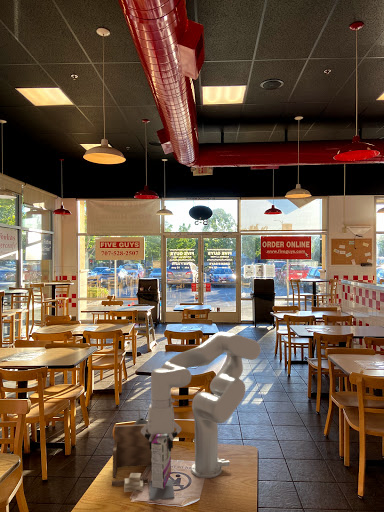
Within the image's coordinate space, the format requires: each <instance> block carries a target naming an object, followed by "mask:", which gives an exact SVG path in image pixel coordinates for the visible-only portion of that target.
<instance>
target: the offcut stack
mask: <svg viewBox="0 0 384 512" xmlns="http://www.w3.org/2000/svg"><path fill="white" fill-rule="evenodd" d="M140 479H142V473H141V472H130V474H129V477H125V478H124V480H125V483H124V485H123V492H124V493H126V492H127V493H128V492H129V493H130V492H136V491H135V490H143V491H144V484H143V481H140Z"/></svg>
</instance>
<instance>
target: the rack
mask: <svg viewBox="0 0 384 512" xmlns="http://www.w3.org/2000/svg"><path fill="white" fill-rule="evenodd" d="M145 425H146V424H140V425H134V424H126V425H125V424H123V425H121V424H120V425H114V442H113V448H112V479H114V480H111V487H116V486H117V487H118V486H124V483H125V479H119V480H118V479H117V473H118V468H131V467H132V468H134V467H148V466H151V467H152V465H151V449H150V442H149V440H148V439H147V438H146V437H145V436H144V435H143V434H142V433H141V429H142V428H143V427H144V426H145ZM146 432H147V433H148V429H147V430H146ZM148 434H149V433H148ZM149 435H150V434H149ZM156 435H157V434H154V437H153V440H154V438H155V437H156ZM115 479H117V480H115ZM140 481H143V485H145V483H148V484H149V478H148V477H146V478H141V479H140Z"/></svg>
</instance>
